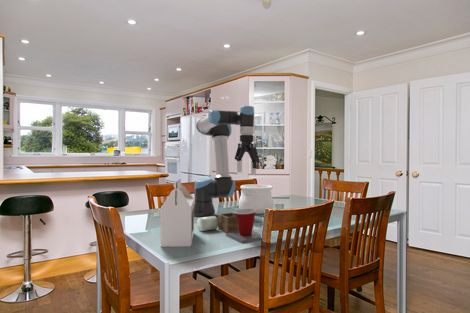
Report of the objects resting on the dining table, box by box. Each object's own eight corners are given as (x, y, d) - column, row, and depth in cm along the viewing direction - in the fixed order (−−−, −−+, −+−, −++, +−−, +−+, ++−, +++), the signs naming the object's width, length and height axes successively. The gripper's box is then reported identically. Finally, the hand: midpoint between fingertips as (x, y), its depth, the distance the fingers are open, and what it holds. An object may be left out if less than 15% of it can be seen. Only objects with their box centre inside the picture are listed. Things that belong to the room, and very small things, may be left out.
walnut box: (218, 229, 167) (218, 214, 166) (232, 227, 171) (232, 212, 171) (226, 233, 159) (227, 217, 159) (241, 230, 164) (241, 215, 164)
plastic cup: (233, 231, 157) (233, 208, 157) (255, 231, 158) (255, 208, 157) (234, 237, 146) (234, 212, 146) (257, 237, 147) (257, 212, 147)
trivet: (226, 235, 154) (226, 233, 154) (249, 231, 162) (249, 229, 162) (241, 243, 142) (241, 240, 142) (265, 238, 150) (265, 236, 150)
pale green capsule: (203, 232, 159) (202, 218, 160) (197, 230, 165) (196, 217, 165) (218, 230, 164) (218, 216, 164) (212, 228, 170) (211, 215, 170)
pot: (241, 207, 232) (241, 183, 231) (274, 208, 228) (274, 184, 228) (236, 214, 206) (236, 187, 206) (273, 215, 203) (273, 188, 202)
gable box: (167, 233, 158) (167, 178, 157) (194, 233, 159) (194, 178, 158) (160, 247, 136) (160, 183, 135) (190, 246, 136) (191, 183, 136)
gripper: (229, 134, 178) (228, 171, 179) (254, 134, 157) (253, 175, 158) (240, 135, 182) (239, 171, 183) (266, 134, 161) (265, 175, 162)
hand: (246, 173), depth 171 cm, fingers open, 13 cm apart
